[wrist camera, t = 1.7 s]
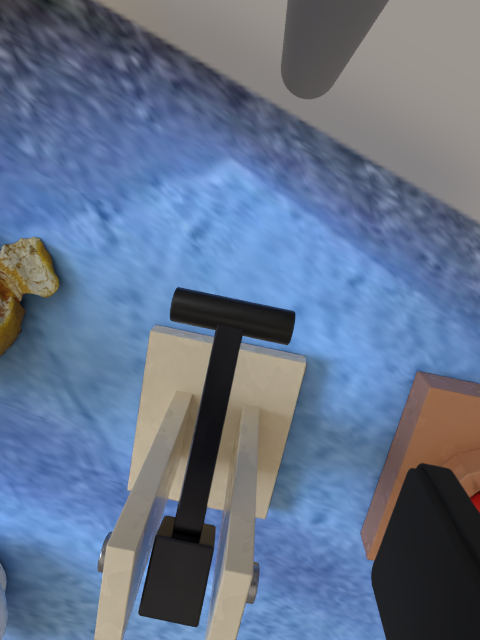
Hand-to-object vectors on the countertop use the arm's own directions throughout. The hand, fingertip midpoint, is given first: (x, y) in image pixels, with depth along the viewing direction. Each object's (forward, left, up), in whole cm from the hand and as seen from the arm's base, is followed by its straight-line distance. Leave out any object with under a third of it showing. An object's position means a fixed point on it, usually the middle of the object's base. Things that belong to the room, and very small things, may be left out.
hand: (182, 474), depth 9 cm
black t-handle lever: (+5, 0, -8) cm, 10 cm away
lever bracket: (+8, 0, -16) cm, 18 cm away
